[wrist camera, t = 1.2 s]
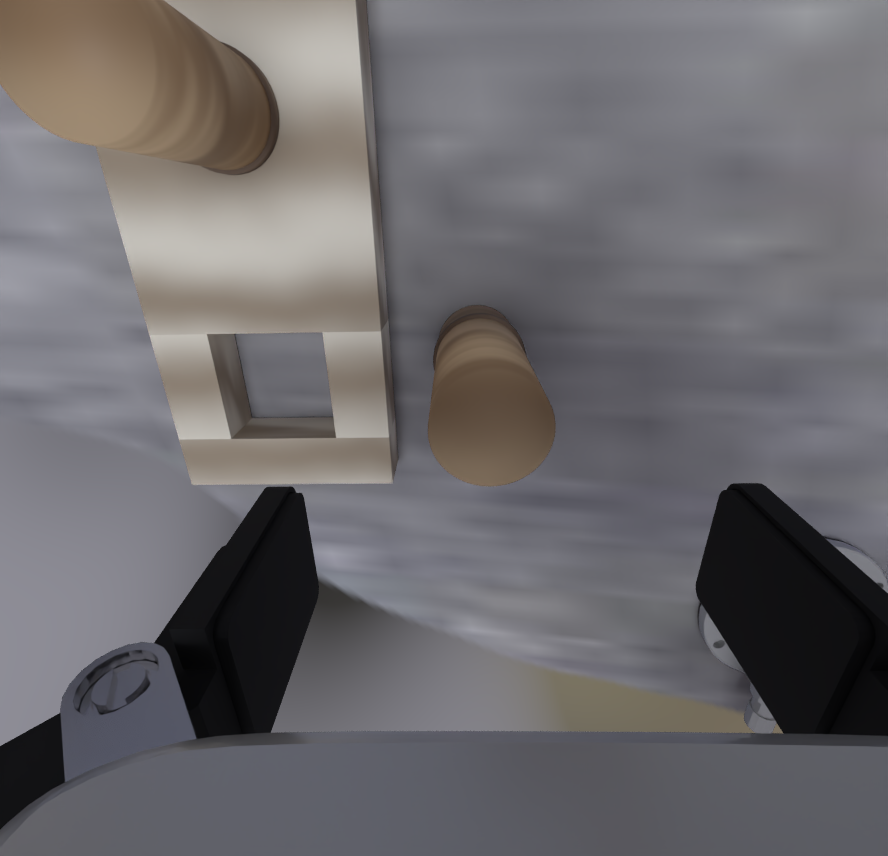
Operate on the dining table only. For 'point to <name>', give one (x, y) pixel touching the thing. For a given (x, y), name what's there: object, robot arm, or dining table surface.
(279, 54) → the board
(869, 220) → the dining table surface
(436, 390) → the oak peg
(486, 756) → the robot arm
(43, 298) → the dining table surface
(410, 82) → the dining table surface
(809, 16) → the dining table surface
